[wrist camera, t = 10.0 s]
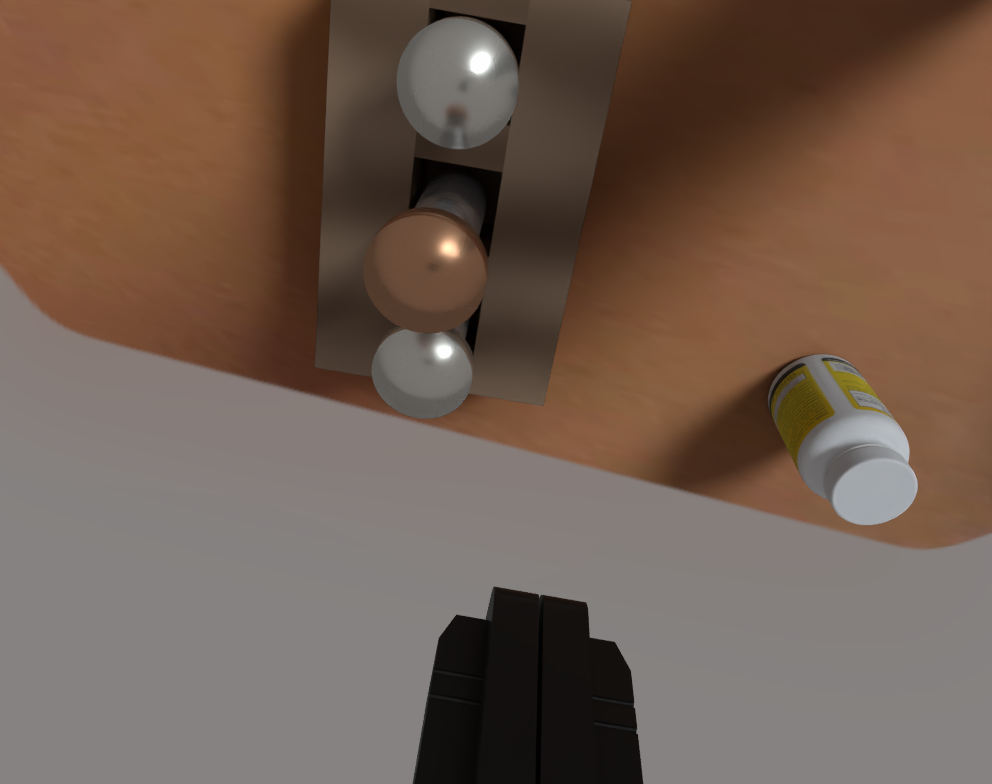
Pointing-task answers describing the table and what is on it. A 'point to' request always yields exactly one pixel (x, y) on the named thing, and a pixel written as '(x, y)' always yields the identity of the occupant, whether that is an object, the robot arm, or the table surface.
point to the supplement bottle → (843, 439)
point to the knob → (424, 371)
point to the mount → (497, 163)
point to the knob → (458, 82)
